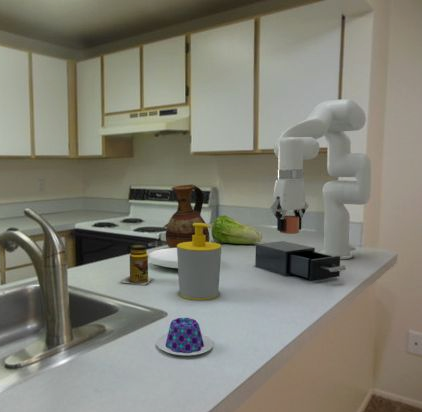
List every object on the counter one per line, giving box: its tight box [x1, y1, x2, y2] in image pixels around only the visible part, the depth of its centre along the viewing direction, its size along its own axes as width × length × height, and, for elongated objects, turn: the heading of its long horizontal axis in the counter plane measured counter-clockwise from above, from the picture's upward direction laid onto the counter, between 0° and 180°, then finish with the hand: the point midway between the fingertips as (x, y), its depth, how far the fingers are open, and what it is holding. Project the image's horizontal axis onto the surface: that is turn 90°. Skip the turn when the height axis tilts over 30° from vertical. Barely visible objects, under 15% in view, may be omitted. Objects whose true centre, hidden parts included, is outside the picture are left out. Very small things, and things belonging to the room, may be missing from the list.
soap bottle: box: [177, 222, 222, 301], centre depth 121 cm, size 13×13×21 cm
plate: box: [148, 247, 178, 269], centre depth 157 cm, size 28×6×27 cm
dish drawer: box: [287, 251, 347, 282], centre depth 137 cm, size 19×12×7 cm, turn 25°
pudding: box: [155, 317, 214, 356], centre depth 86 cm, size 12×12×5 cm
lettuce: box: [211, 214, 263, 245], centre depth 201 cm, size 14×24×14 cm
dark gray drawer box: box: [254, 240, 316, 277], centre depth 150 cm, size 16×14×9 cm
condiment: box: [120, 244, 152, 286], centre depth 136 cm, size 7×8×12 cm
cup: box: [279, 215, 300, 235], centre depth 135 cm, size 6×6×5 cm
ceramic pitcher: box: [165, 184, 210, 248], centre depth 186 cm, size 20×20×30 cm
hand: (289, 229), depth 135 cm, fingers closed on cup, 6 cm apart
